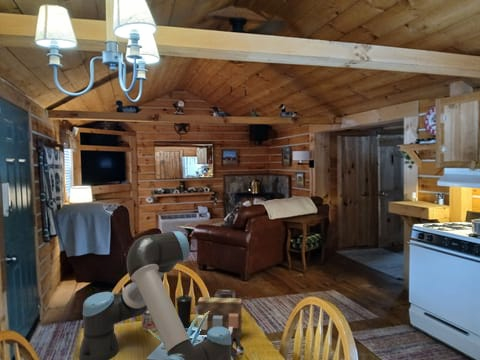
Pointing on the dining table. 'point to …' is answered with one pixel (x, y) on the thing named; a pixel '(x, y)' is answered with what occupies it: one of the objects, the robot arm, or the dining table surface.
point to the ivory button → (205, 323)
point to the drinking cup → (184, 308)
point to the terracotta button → (233, 320)
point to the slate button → (218, 321)
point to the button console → (221, 311)
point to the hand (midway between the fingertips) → (230, 330)
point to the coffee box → (225, 293)
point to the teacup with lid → (147, 322)
